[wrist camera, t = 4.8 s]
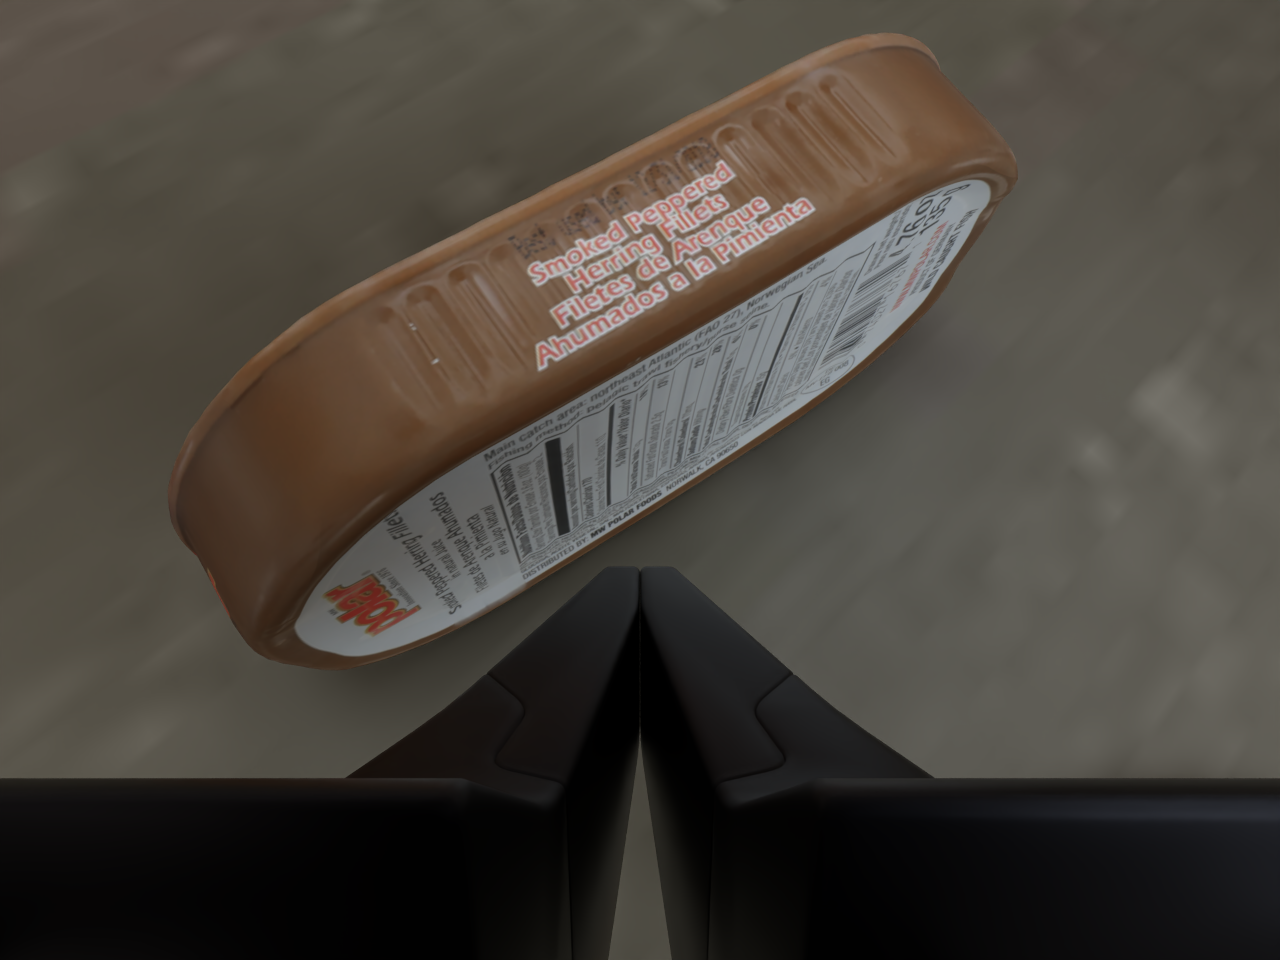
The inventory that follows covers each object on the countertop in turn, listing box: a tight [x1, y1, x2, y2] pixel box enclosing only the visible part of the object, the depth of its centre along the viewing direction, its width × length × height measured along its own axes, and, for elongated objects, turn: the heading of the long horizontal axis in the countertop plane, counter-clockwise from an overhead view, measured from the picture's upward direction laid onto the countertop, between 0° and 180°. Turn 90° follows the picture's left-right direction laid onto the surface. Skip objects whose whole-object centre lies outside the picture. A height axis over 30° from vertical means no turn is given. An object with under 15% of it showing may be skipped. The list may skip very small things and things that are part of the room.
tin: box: [168, 33, 1018, 670], centre depth 15 cm, size 15×3×8 cm, turn 124°
